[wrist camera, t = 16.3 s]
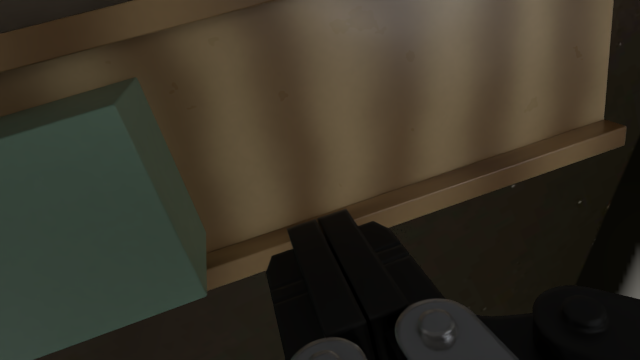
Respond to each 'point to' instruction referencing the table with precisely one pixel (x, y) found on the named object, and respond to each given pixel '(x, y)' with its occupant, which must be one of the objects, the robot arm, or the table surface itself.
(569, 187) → the table surface
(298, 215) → the tray
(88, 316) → the green rectangular block
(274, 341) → the table surface
